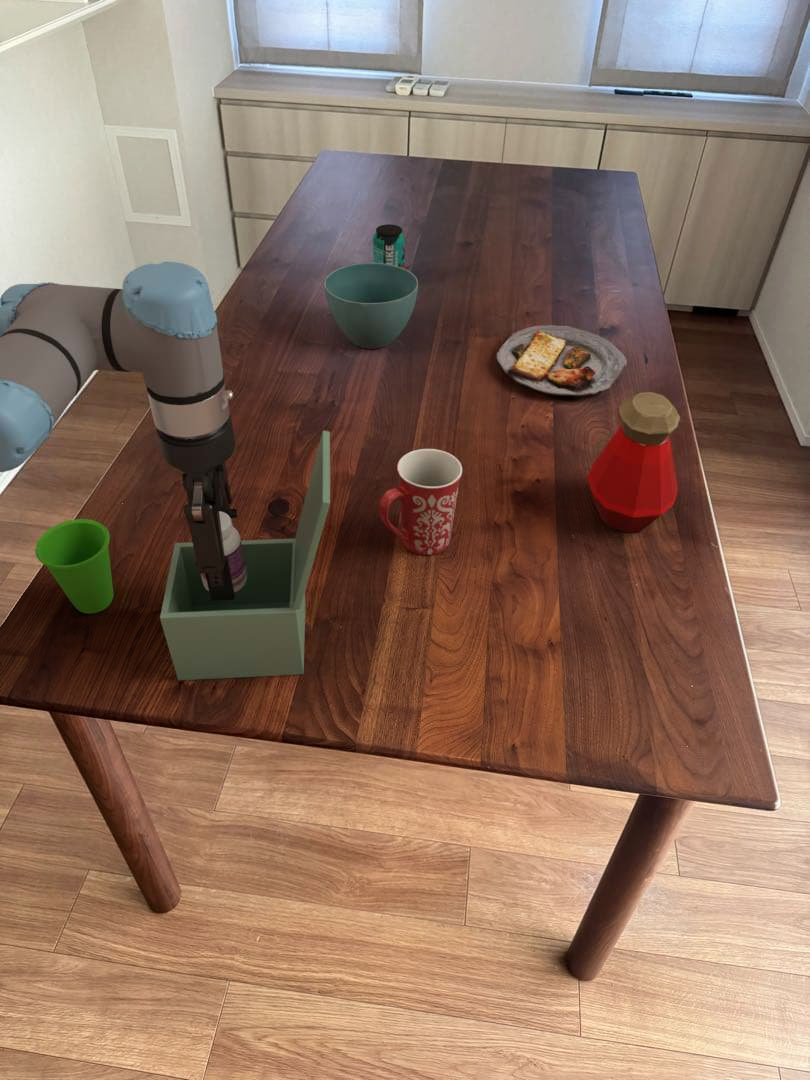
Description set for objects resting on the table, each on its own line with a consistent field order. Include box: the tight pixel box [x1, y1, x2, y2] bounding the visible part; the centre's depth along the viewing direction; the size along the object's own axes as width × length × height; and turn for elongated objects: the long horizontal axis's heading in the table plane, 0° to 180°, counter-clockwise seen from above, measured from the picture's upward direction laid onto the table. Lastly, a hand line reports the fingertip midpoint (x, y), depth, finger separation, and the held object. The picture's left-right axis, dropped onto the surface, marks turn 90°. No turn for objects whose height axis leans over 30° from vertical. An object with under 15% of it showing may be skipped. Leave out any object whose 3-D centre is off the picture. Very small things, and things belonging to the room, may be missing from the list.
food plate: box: [495, 324, 627, 398], centre depth 154 cm, size 25×23×4 cm
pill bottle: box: [201, 511, 247, 593], centre depth 93 cm, size 5×5×10 cm
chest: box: [159, 538, 306, 681], centre depth 100 cm, size 16×13×12 cm
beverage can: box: [372, 223, 406, 269], centre depth 177 cm, size 7×7×12 cm
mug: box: [378, 448, 463, 556], centre depth 113 cm, size 13×9×14 cm
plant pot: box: [323, 262, 419, 350], centre depth 158 cm, size 18×18×12 cm
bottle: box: [586, 391, 681, 534], centre depth 117 cm, size 16×14×20 cm
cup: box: [35, 518, 114, 615], centre depth 105 cm, size 9×9×11 cm
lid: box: [293, 430, 331, 610], centre depth 91 cm, size 17×13×1 cm
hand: (225, 579), depth 96 cm, fingers closed on pill bottle, 5 cm apart
